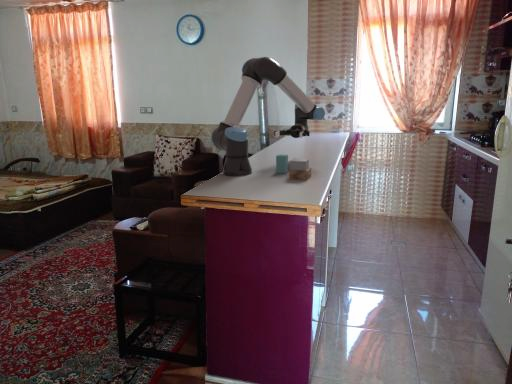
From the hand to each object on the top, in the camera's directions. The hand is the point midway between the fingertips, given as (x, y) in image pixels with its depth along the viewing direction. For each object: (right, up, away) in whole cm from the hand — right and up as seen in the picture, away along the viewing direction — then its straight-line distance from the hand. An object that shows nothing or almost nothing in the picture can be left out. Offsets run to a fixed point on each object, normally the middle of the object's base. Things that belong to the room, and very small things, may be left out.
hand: (287, 135), depth 214 cm
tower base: (+5, -24, -18) cm, 30 cm away
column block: (-3, -20, -5) cm, 21 cm away
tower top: (+4, -19, -19) cm, 27 cm away
